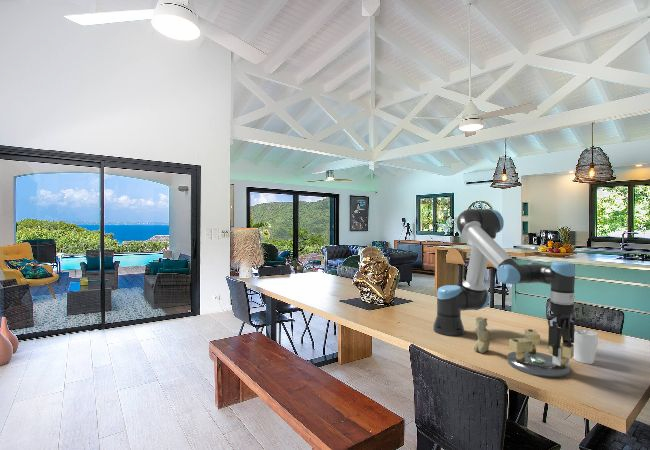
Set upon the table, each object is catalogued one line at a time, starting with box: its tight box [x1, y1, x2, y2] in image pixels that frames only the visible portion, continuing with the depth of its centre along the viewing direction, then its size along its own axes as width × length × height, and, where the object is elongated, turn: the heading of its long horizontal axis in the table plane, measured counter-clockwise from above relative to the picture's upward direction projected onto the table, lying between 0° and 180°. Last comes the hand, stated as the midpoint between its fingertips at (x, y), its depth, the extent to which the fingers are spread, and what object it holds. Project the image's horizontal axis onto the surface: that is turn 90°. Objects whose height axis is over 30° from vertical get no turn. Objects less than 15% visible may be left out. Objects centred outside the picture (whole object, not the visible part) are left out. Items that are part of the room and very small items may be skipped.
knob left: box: [508, 337, 532, 364], centre depth 135 cm, size 7×4×9 cm, turn 103°
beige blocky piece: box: [524, 328, 541, 354], centre depth 144 cm, size 7×4×9 cm, turn 163°
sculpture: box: [473, 316, 491, 354], centre depth 152 cm, size 6×7×15 cm
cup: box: [571, 328, 599, 365], centre depth 142 cm, size 9×9×12 cm
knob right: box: [548, 342, 574, 369], centre depth 131 cm, size 7×4×9 cm, turn 40°
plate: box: [507, 351, 570, 379], centre depth 137 cm, size 21×21×3 cm
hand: (560, 363), depth 131 cm, fingers closed on knob right, 5 cm apart
